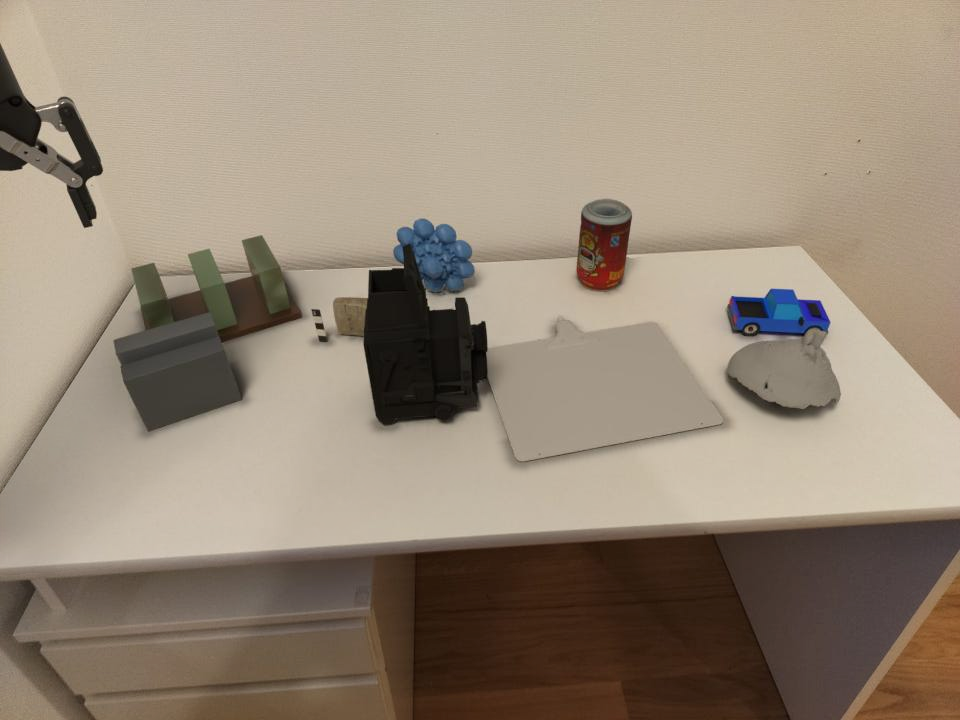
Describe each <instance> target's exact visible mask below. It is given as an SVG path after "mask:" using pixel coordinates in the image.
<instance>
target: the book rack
mask: <svg viewBox="0 0 960 720" xmlns="http://www.w3.org/2000/svg"><path fill="white" fill-rule="evenodd" d="M241 244H242V247H243V251H244V254H245V256H246V261H247V265H248V267H249V272H250V276H246V277H243V278H240V279H239V278H238V279H235V280H232V281H228V282H224V283H225V286H226V289H227V292H228V296H229V299H230V302H231V305H232V308H233V311H234V314H235V317H236V320H237V323H238V324H237V325H234V326H230V327H227V328H224V329H220V330H217V332H218V334H219V337H220V339H221V342H222V343H223V342H227V341H228V340H229V341H230V340H232V339H237V338H239V337H242V336H245V335H248V334H252V333H255V332H259V331H261V330H265V329H268V328H272V327H275V326H278V325H281V324H284V323H288V322H291V321H295V320H298V319H301V318H302V317H303V316H302V311H301V309H300V308H299V306H298V305H297V303H296V301H295V299H294V297H293V296H292V293H291V291H289V289H288V286H287V285H286V283H285V280H284V276H283V272H282V268H281V266H280V264H279V262H278V260H277V258H276V256H275V255H274V253H273V252H272V250H271V248H270V247H269V244H268V242H267V241H266V239H265V238H264V236H263V235H262V234H261V235H257V236H253V237H249V238H245V239H242V240H241ZM130 270H131V274H132V278H133V281H134V285H135V290H136V293H137V297H138V302H139V306H140V311H141V317H142V320H143V325H144V328H145V331H146V330H149V329H153V328H156V327H160V326H163V325H167V324H170V323H174V322H177V321H181V320H184V319H188V318H191V317H195V316H198V315H202V314H205V313H208V309H207V307H206V304H205V301H204V299H203V296H202V293H201V291H200V289H199V290H196V291H191V292H189V293H185V294H181V295H178V296H174V297H171V298H169V296H168V294H167V291H166V289H165V287H164V283H163V281H162V279H161V276H160V274H159V272H158V269H157V266H156V263H155V262H151V263H147V264H144V265H143V264H142V265H139V266H135V267H131V268H130Z"/></svg>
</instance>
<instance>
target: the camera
mask: <svg viewBox="0 0 960 720" xmlns="http://www.w3.org/2000/svg"><path fill="white" fill-rule="evenodd" d="M402 248H403V256H404V265H403V267H392V268H391V269H368V285H367V298H368V299H367V309H366V312H365V327H364V336H363V343H362V345H363V351H364V356H365V362H366V368H367V372H368V373H367V374H368V379H369V385H370V386H369V387H370V389H371V390H370V391H371V397H372V403H373V408H374V414H375V418H376V420H378V421H379V422H380V423H381V424H382V425H383V426H388V425H393V424H395V422H396V420H399V419H409V418H410V419H411V418H421V417H431V416H432V417H433V416H435V418H436V419H437V420H439V421H442V422H443V421H448V420H450V419H451V418H452V416H453V413H454V412H455V410H456V409H458V410H459V409H463V408H476V407H479V405H478V401H480V399H479V398H480V397H479V389H478V383H480V381H481V382H484V381H488V377H487V375H488V369H487V355H486V352H487V350H488V348H489V347H488V346H489V345H488V332H487V330H488V329H487V323H486V320H481V322H480V323H473V324H472V323H471V316H470V308H469V304H468V301H467V299H466V297H463V296H462V297H461V296H459V297H457V296H456V297H454V307H455V309H453V308H445V309H431V308H430V306H429V301H428V298H427V288H426V287H425V285H424V281H423V280H422V279H421V276H420V272H419V269H418V265H417V262H416V259H415V255H414V252H413V249H412V247H411V245H410V243H409V244H407V245H405V246H403V247H402Z"/></svg>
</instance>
